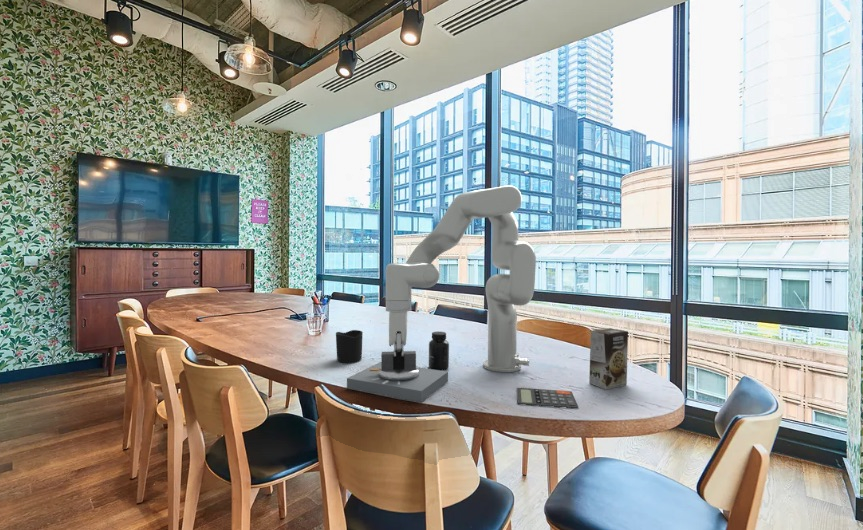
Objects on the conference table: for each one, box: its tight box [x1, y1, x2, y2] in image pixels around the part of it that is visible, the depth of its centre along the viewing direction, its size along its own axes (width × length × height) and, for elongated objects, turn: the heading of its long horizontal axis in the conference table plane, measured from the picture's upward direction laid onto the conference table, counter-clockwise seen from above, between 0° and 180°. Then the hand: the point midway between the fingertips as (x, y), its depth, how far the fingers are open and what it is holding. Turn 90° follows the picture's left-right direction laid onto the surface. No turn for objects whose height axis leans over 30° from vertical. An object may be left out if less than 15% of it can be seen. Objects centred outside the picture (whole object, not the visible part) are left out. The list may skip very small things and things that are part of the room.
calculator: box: [516, 387, 579, 409], centre depth 108 cm, size 12×1×15 cm
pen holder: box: [335, 329, 363, 364], centre depth 143 cm, size 9×9×10 cm
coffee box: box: [588, 327, 629, 390], centre depth 118 cm, size 9×6×16 cm
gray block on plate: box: [370, 350, 420, 381], centre depth 117 cm, size 14×12×6 cm
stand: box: [346, 361, 449, 403], centre depth 118 cm, size 24×18×3 cm
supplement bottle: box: [428, 331, 450, 371], centre depth 134 cm, size 7×7×12 cm
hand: (398, 366), depth 118 cm, fingers open, 4 cm apart
